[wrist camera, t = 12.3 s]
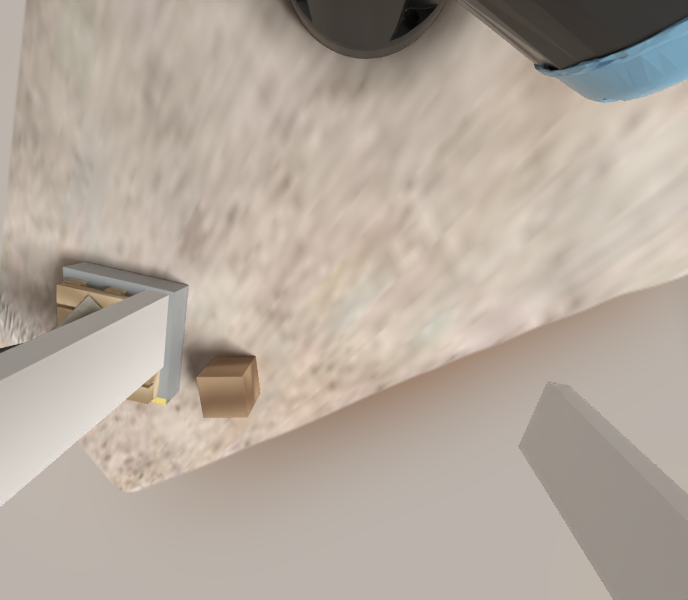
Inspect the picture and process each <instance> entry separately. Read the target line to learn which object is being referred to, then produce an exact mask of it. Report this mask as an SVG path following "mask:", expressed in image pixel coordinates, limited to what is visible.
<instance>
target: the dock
mask: <svg viewBox="0 0 688 600" xmlns="http://www.w3.org/2000/svg"><path fill="white" fill-rule="evenodd" d="M71 278H74V279H78V280H83V281H87V287H88V288H93V289H97V290H101V291H104V289H107V288H110V287H114V288H118V289H123V290H126V296H128V297H131V296H133V295H135V294H138V293H140V292H142V291H145V290H150V291H154V292H159V293H163V294H168V295H169V301H168V314H167V327H166V340H165V353H164V366H163V368H162V369H160V375H159V389H158V396H157V397H156V398H155V399H154V400H152V401H151V402H154V403H159V404H163V405H166V404H167V403H168V402H169V401H170V400H171V399H172V398H173V397H174V396H175V395H176V394H177V392H178V391H179V384H180V373H181V362H182V351H183V341H184V330H185V319H186V308H187V297H188V286H189V285H185V284H180V283H176V282H172V281H167V280H163V279H158V278H154V277H150V276H145V275H141V274H136V273H132V272H128V271H123V270H119V269H114V268H110V267H106V266H101V265H97V264H92V263H88V262H81V263H77V264H73V265H68V266H64V267H63V282H64V280H67V279H71Z"/></svg>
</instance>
